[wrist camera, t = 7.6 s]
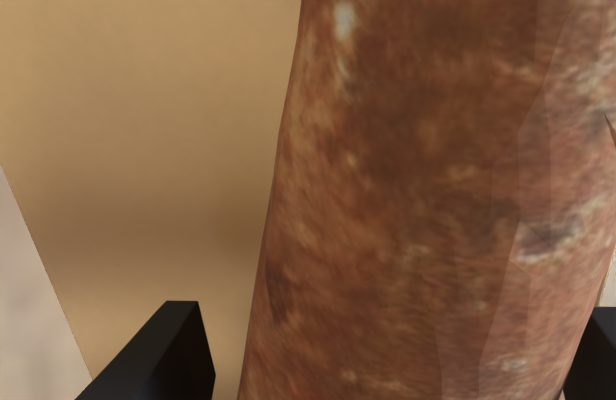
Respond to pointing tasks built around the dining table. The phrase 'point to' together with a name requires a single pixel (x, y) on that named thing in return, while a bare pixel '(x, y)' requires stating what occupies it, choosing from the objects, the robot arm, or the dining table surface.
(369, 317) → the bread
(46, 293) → the dining table surface
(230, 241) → the board
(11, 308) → the dining table surface
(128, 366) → the robot arm
